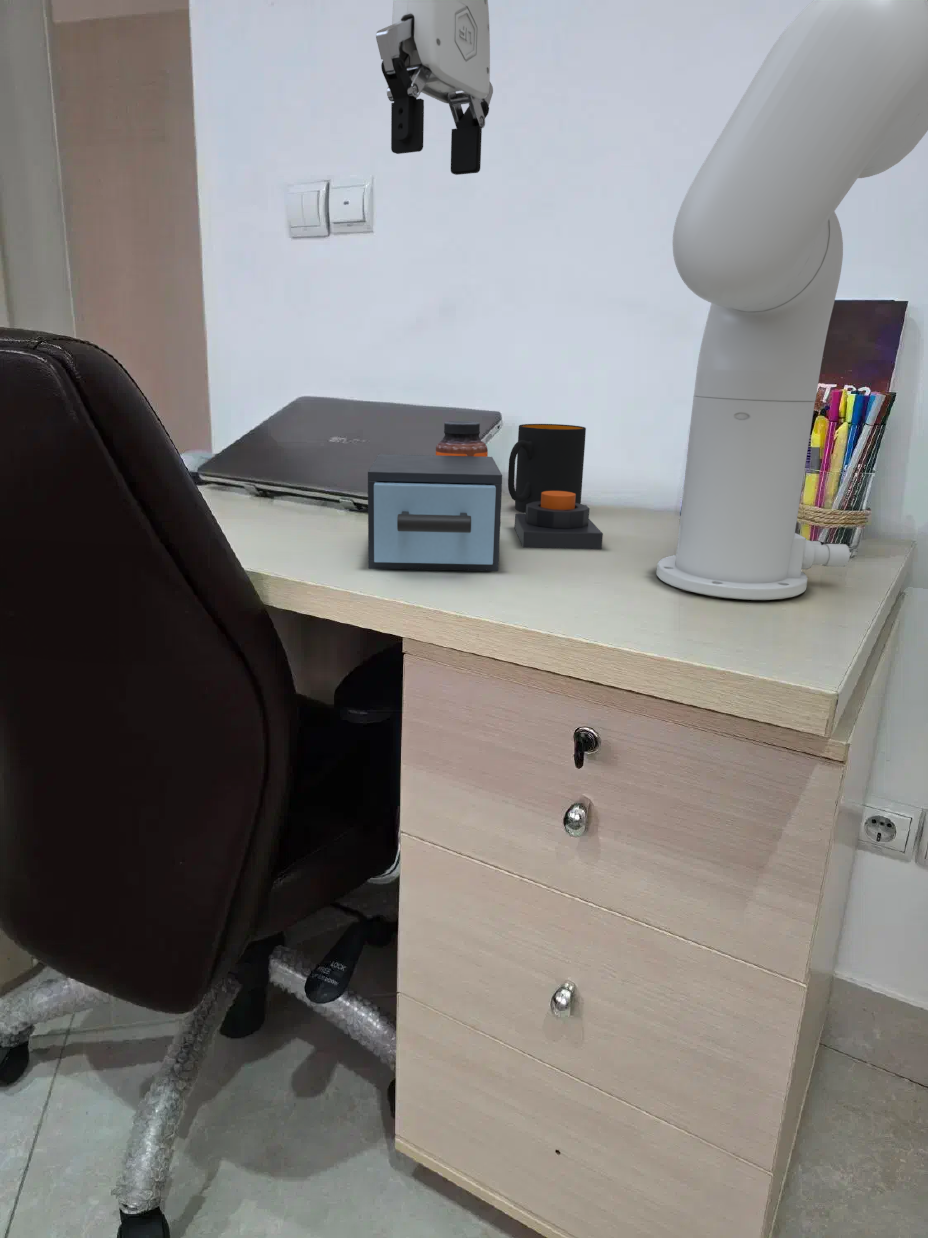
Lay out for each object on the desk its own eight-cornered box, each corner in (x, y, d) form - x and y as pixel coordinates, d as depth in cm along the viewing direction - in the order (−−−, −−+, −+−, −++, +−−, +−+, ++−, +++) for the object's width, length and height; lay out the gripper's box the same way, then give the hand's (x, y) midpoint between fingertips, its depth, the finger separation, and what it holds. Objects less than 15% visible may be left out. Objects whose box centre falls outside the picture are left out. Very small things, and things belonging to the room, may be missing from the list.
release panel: (584, 529, 93) (587, 499, 92) (601, 549, 84) (604, 515, 83) (514, 528, 93) (515, 497, 92) (523, 547, 83) (524, 513, 82)
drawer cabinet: (498, 571, 74) (502, 474, 71) (368, 568, 74) (367, 471, 71) (489, 539, 87) (492, 456, 84) (378, 537, 87) (378, 453, 84)
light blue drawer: (496, 577, 68) (499, 495, 66) (370, 574, 68) (369, 492, 66) (485, 535, 84) (487, 468, 82) (383, 533, 84) (382, 465, 82)
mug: (481, 512, 102) (484, 426, 99) (541, 502, 110) (546, 422, 107) (534, 522, 97) (539, 431, 94) (593, 510, 105) (599, 427, 102)
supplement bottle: (487, 518, 98) (491, 420, 95) (484, 528, 93) (487, 424, 89) (437, 516, 99) (439, 418, 95) (431, 525, 93) (432, 422, 90)
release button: (571, 507, 89) (572, 491, 89) (577, 513, 86) (578, 496, 85) (538, 506, 89) (539, 490, 89) (542, 512, 86) (543, 495, 85)
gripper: (419, -110, 64) (416, 138, 70) (526, -24, 78) (516, 177, 84) (345, -87, 68) (347, 146, 73) (459, -9, 82) (454, 182, 87)
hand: (437, 162), depth 79 cm, fingers open, 9 cm apart
